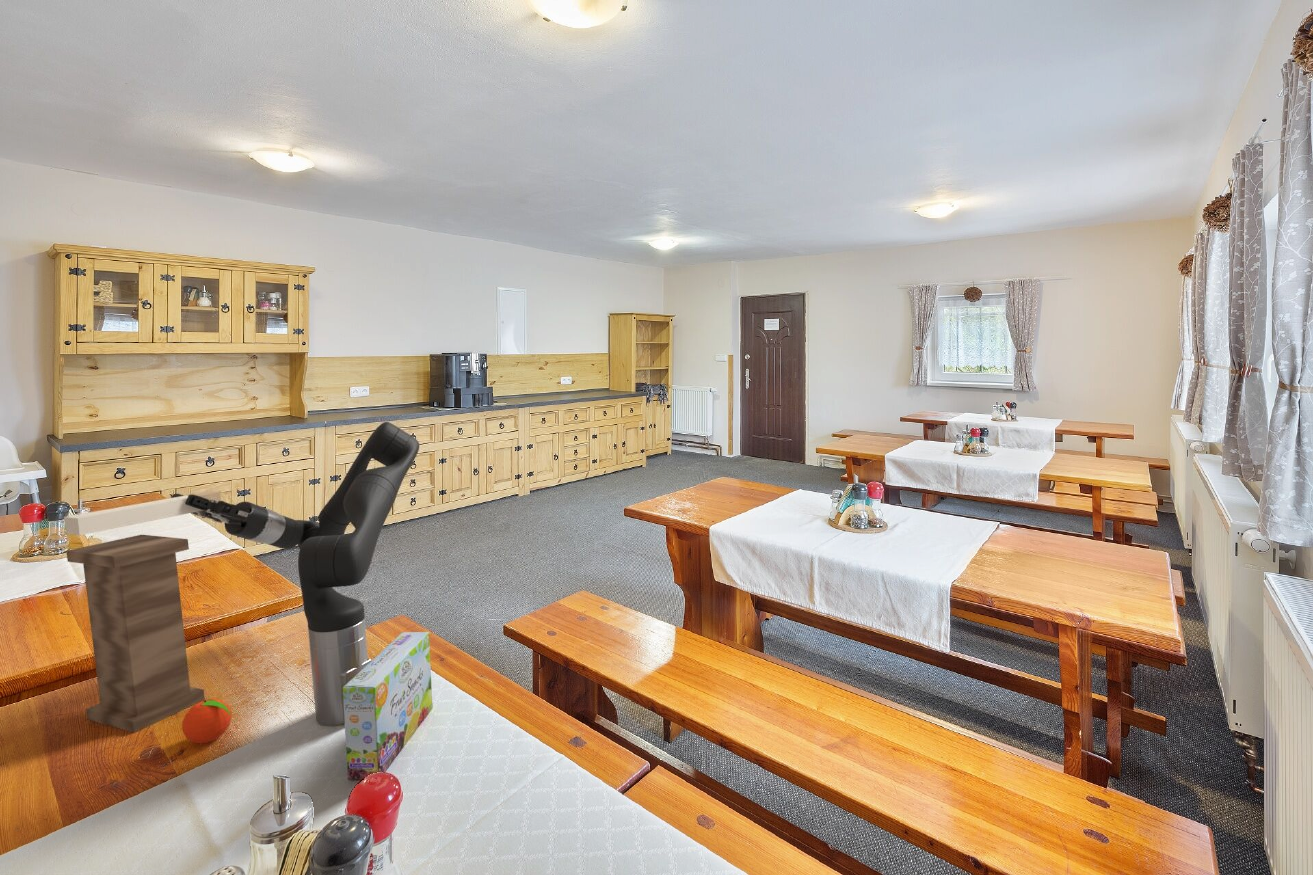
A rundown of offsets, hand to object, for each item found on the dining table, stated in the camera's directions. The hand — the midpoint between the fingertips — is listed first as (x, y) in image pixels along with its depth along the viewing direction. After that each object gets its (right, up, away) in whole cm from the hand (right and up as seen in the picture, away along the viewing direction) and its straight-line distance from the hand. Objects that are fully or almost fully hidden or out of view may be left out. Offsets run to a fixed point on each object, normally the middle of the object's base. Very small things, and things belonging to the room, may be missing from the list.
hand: (180, 498), depth 123 cm
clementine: (+18, -40, -16) cm, 47 cm away
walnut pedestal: (-2, -40, -5) cm, 40 cm away
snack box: (+51, -39, -18) cm, 67 cm away
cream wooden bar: (-2, -3, -5) cm, 6 cm away
